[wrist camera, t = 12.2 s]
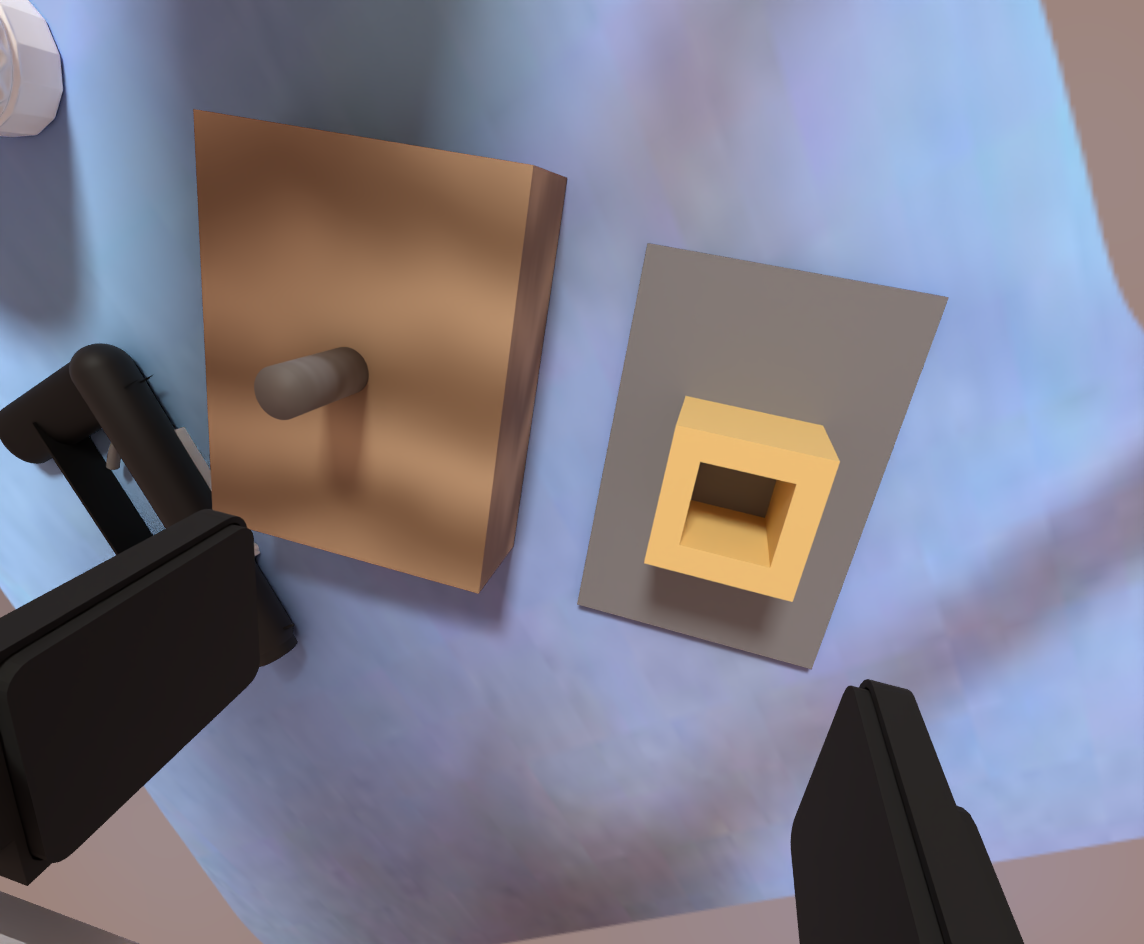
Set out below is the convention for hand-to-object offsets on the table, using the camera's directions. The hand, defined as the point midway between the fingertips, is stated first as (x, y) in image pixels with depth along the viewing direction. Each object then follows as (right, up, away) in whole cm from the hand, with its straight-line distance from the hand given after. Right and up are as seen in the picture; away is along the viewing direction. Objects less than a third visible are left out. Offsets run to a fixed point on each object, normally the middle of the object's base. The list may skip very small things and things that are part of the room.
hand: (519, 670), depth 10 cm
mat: (+8, +3, +20) cm, 22 cm away
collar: (+8, +3, +20) cm, 21 cm away
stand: (-8, +9, +22) cm, 25 cm away
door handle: (-25, 0, +31) cm, 40 cm away
